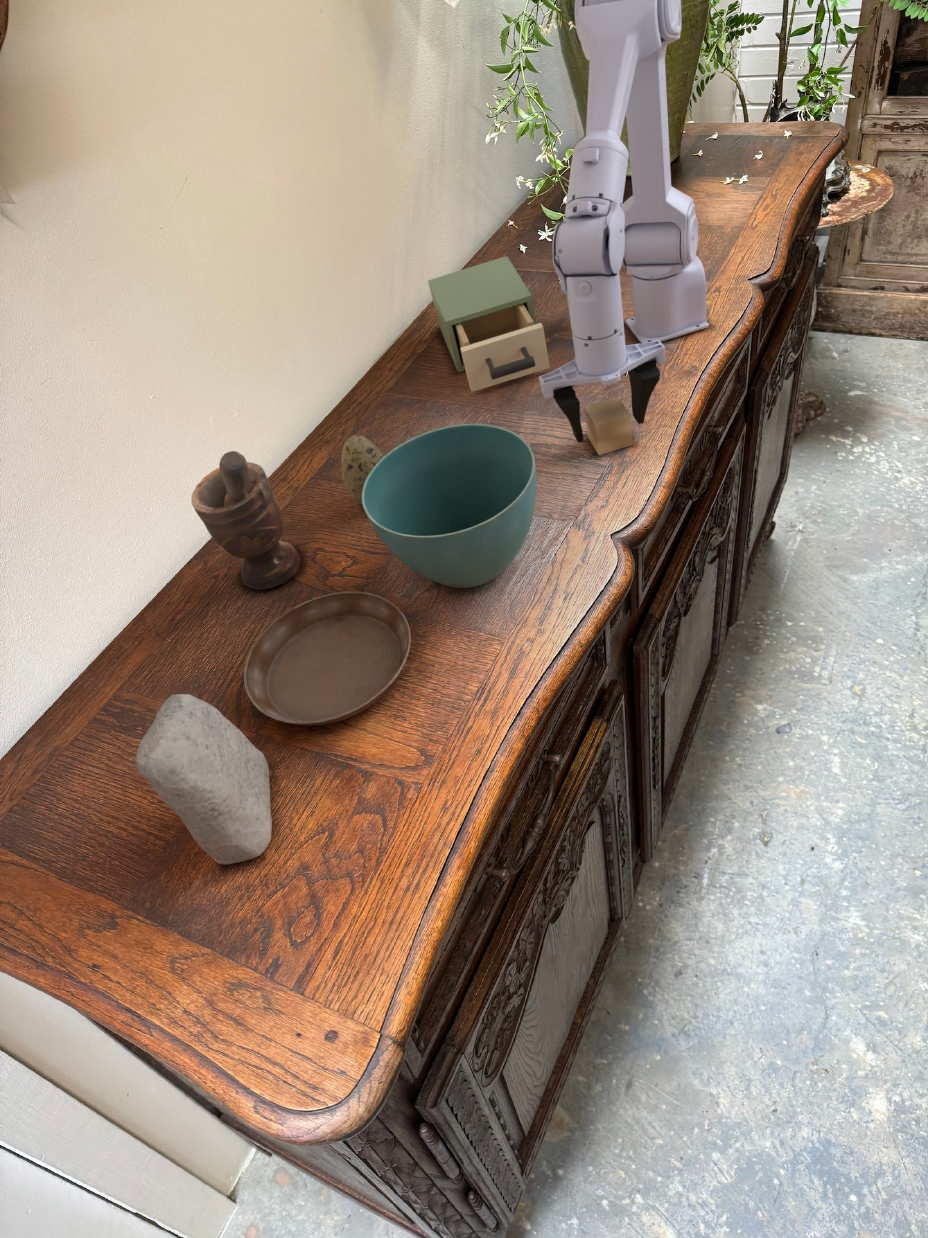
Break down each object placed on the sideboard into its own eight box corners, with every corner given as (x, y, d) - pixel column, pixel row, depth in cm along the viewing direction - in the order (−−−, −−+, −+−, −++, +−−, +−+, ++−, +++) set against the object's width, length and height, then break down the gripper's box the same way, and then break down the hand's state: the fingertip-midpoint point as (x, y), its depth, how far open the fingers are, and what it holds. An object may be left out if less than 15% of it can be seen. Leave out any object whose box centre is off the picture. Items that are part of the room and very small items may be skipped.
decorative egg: (349, 498, 107) (323, 434, 100) (392, 481, 108) (369, 416, 101) (361, 524, 103) (334, 459, 96) (405, 506, 104) (382, 440, 97)
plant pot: (407, 642, 88) (373, 558, 79) (383, 536, 101) (352, 453, 92) (572, 591, 88) (556, 501, 79) (527, 491, 101) (509, 404, 92)
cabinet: (540, 347, 123) (531, 294, 117) (458, 372, 123) (445, 321, 117) (516, 305, 133) (506, 255, 127) (440, 328, 133) (427, 280, 127)
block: (621, 426, 105) (618, 396, 102) (633, 445, 102) (630, 414, 99) (587, 436, 105) (583, 407, 102) (598, 455, 102) (594, 425, 99)
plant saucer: (320, 592, 96) (311, 574, 94) (448, 631, 88) (442, 612, 85) (221, 709, 87) (209, 691, 85) (353, 765, 79) (343, 747, 76)
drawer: (558, 383, 113) (552, 341, 109) (478, 408, 113) (468, 367, 109) (525, 325, 126) (518, 285, 122) (453, 348, 126) (443, 309, 122)
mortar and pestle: (339, 559, 100) (277, 418, 85) (297, 609, 95) (224, 469, 81) (268, 540, 105) (198, 405, 91) (224, 587, 101) (144, 453, 86)
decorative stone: (223, 768, 82) (148, 673, 71) (281, 756, 81) (215, 658, 71) (208, 871, 74) (123, 781, 64) (272, 859, 74) (197, 766, 63)
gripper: (544, 362, 90) (560, 463, 100) (673, 322, 90) (677, 428, 100) (528, 333, 95) (545, 432, 105) (650, 295, 95) (656, 398, 104)
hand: (608, 428), depth 102 cm, fingers open, 7 cm apart
